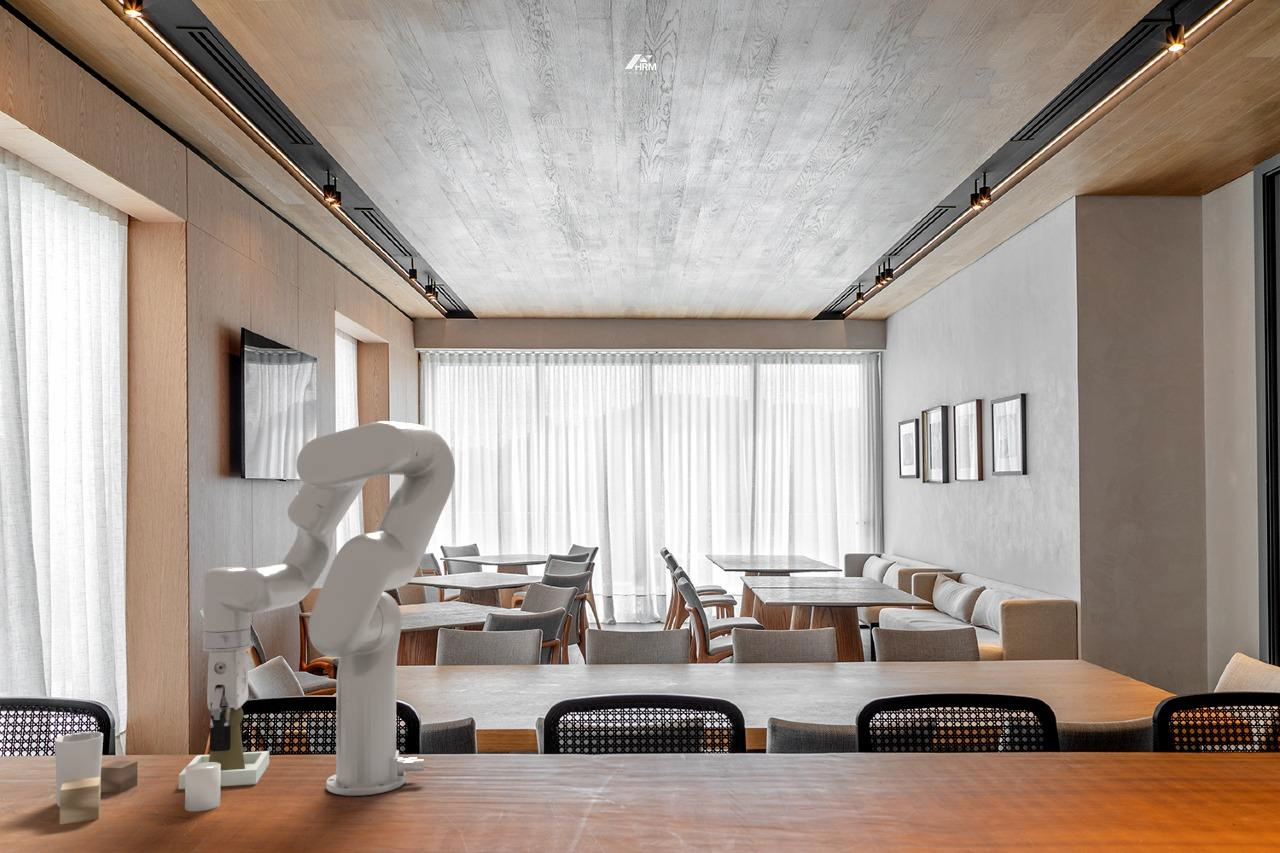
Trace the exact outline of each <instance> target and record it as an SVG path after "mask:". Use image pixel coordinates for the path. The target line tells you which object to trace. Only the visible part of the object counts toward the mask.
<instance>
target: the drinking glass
mask: <svg viewBox="0 0 1280 853" xmlns="http://www.w3.org/2000/svg"><path fill="white" fill-rule="evenodd" d="M103 743H104V733H103V732H100V731H99V732H98V731H83V732H82V731H80V732H75V733H69V734H63V735H61V736H59V737H57V738H55V739H54V752H55V755H54V756H55V784H56V786H55V788H56V806H57V807H59V808H60V790H61V787H62V784H63V781H71V780H79V779H87V778H95V777H101V766H102V757H103V748H104V747H103V745H104V744H103Z"/></svg>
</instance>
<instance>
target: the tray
mask: <svg viewBox="0 0 1280 853" xmlns="http://www.w3.org/2000/svg"><path fill="white" fill-rule="evenodd" d="M243 755H244V762H245V769H236V770H221V787H230V786H232V787H233V786H247V785H248V786H249V785H257V784H258V782H259V781H260V779H261V777H262V776H263V775H264V773H265V771H266V770H267V768H268V766H269V765H270V751H269V750H264V751H263V750H262V751H247V752H244V751H243ZM209 756H210V754H198V755H197V754H196V756H195V757H194V758H193V759H192V760H191V761H190V762H189V763H188V765H186V767H188V766H190V765H193V764H197V763H203V762H209ZM178 790H185V768H183V770H181V772H180V773H179V774H178Z"/></svg>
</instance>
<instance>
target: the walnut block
mask: <svg viewBox="0 0 1280 853" xmlns="http://www.w3.org/2000/svg"><path fill="white" fill-rule="evenodd" d="M138 764H139V762H138V761H137V760H113V761H111V762H108V763H107V764H104V765H101V791H100V793H117V794H118V793H119V794H120V793H123V792H126V791H129V789H133V788H134V787H137V786H138V768H139V767H138Z"/></svg>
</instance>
